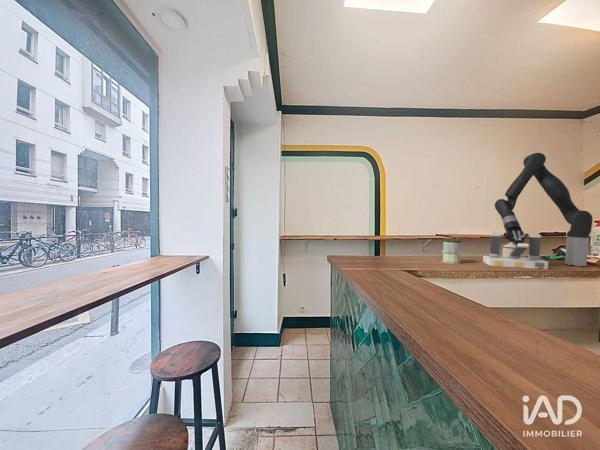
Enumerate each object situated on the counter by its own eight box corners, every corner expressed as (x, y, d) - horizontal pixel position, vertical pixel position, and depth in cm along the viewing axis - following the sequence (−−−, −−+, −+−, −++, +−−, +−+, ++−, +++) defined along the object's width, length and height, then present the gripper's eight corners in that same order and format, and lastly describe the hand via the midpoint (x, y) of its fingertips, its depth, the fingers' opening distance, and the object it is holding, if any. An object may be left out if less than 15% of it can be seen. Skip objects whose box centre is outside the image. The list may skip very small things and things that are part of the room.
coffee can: (438, 260, 176) (439, 238, 175) (455, 260, 175) (456, 239, 174) (445, 263, 165) (446, 240, 164) (463, 263, 164) (464, 241, 163)
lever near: (537, 259, 159) (539, 234, 158) (540, 260, 156) (541, 234, 155) (528, 258, 160) (529, 234, 159) (530, 259, 158) (531, 234, 157)
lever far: (498, 257, 164) (499, 233, 164) (499, 257, 162) (501, 233, 161) (488, 256, 166) (490, 233, 165) (490, 257, 164) (491, 233, 163)
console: (536, 264, 163) (536, 258, 163) (548, 269, 151) (548, 262, 151) (482, 261, 171) (483, 255, 171) (490, 265, 159) (490, 259, 159)
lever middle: (517, 255, 162) (528, 243, 150) (518, 259, 161) (529, 246, 149) (507, 255, 163) (517, 242, 152) (508, 258, 162) (519, 246, 150)
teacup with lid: (518, 261, 173) (519, 243, 173) (501, 259, 179) (502, 242, 178) (518, 258, 183) (519, 241, 182) (502, 257, 188) (503, 240, 188)
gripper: (500, 220, 165) (508, 242, 154) (526, 220, 161) (536, 243, 150) (496, 228, 170) (504, 250, 159) (521, 228, 166) (531, 251, 155)
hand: (519, 246), depth 154 cm, fingers closed
